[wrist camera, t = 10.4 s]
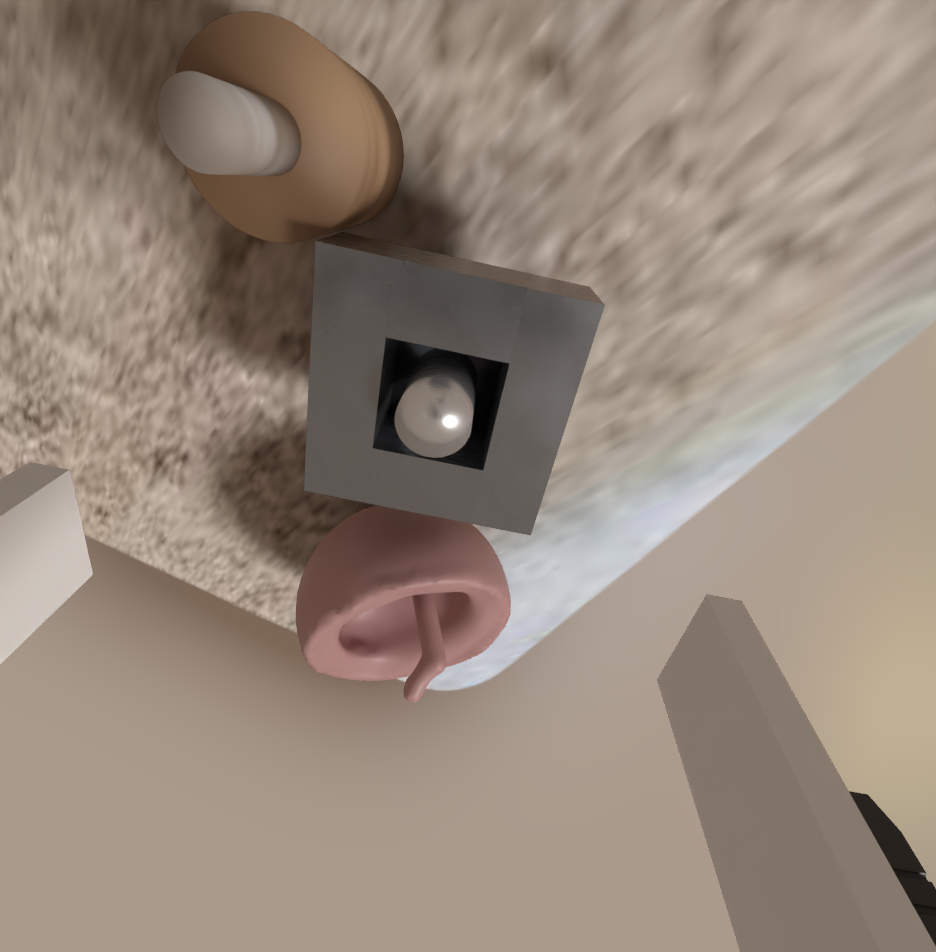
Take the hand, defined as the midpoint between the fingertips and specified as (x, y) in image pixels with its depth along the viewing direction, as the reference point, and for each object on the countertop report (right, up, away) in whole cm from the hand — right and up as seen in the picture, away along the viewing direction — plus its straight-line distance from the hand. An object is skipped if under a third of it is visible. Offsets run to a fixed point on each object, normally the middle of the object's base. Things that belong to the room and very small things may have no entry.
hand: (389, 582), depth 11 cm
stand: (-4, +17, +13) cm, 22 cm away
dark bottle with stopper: (+1, +10, +17) cm, 20 cm away
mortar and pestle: (-2, -2, +24) cm, 24 cm away
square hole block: (+1, +7, +12) cm, 14 cm away
